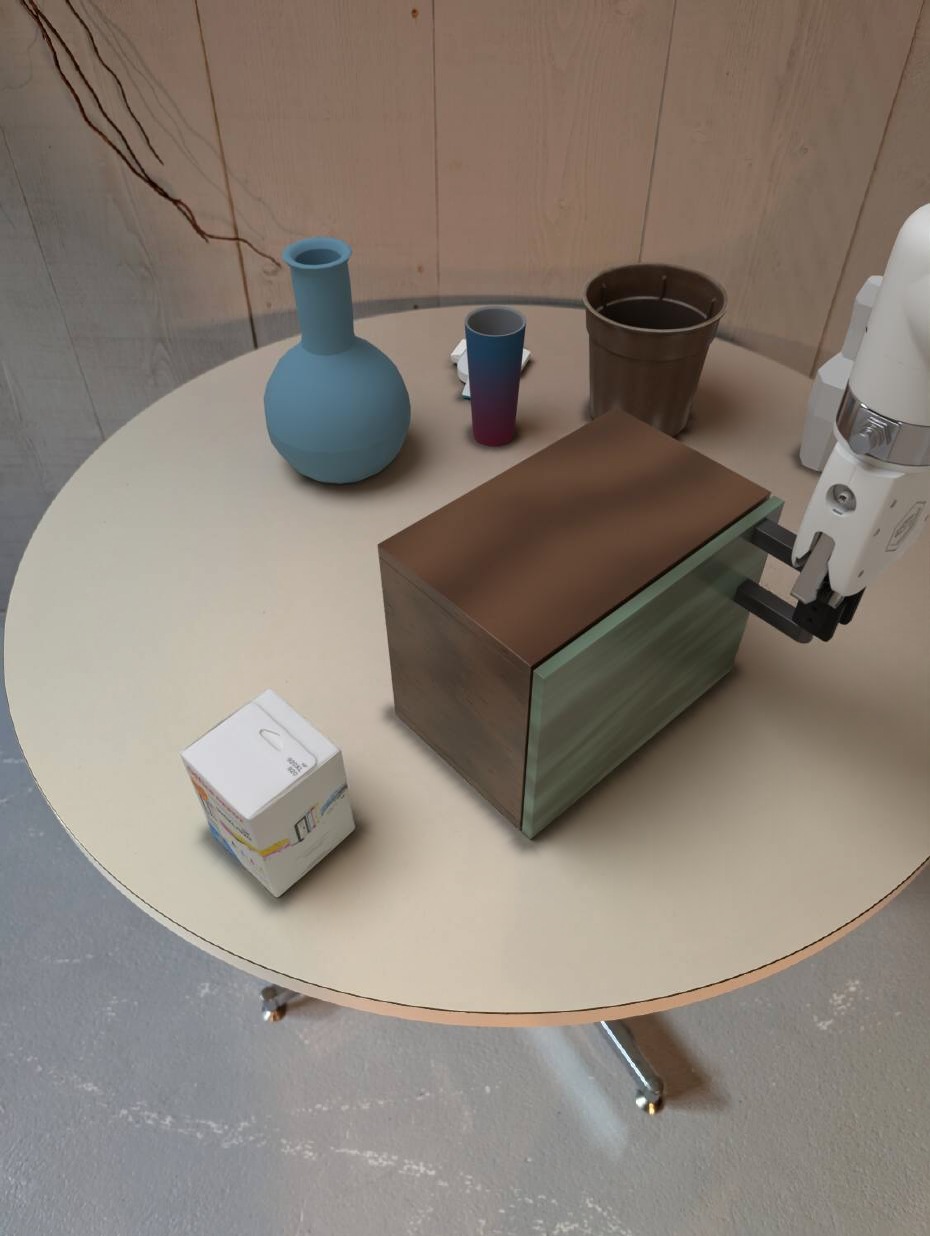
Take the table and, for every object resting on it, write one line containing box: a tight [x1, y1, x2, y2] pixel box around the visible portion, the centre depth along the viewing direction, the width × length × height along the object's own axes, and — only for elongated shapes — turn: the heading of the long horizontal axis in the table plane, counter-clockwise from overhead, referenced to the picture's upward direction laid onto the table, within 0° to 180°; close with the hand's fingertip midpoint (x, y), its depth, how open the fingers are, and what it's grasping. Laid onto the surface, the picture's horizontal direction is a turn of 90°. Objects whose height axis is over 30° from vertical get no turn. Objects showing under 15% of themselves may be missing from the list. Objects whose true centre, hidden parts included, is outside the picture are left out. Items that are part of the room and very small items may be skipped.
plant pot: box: [581, 261, 730, 438], centre depth 107 cm, size 16×16×16 cm
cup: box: [464, 305, 527, 447], centre depth 105 cm, size 7×7×15 cm
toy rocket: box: [450, 338, 531, 399], centre depth 120 cm, size 16×10×2 cm, turn 159°
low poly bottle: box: [799, 275, 884, 473], centre depth 99 cm, size 6×6×22 cm
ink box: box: [179, 687, 356, 898], centre depth 69 cm, size 9×8×12 cm
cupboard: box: [377, 407, 772, 831], centre depth 76 cm, size 16×26×20 cm, turn 132°
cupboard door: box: [521, 495, 830, 840], centre depth 70 cm, size 8×26×20 cm, turn 132°
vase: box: [263, 236, 412, 485], centre depth 99 cm, size 16×16×25 cm
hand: (820, 620), depth 69 cm, fingers closed, pressing on cupboard door
